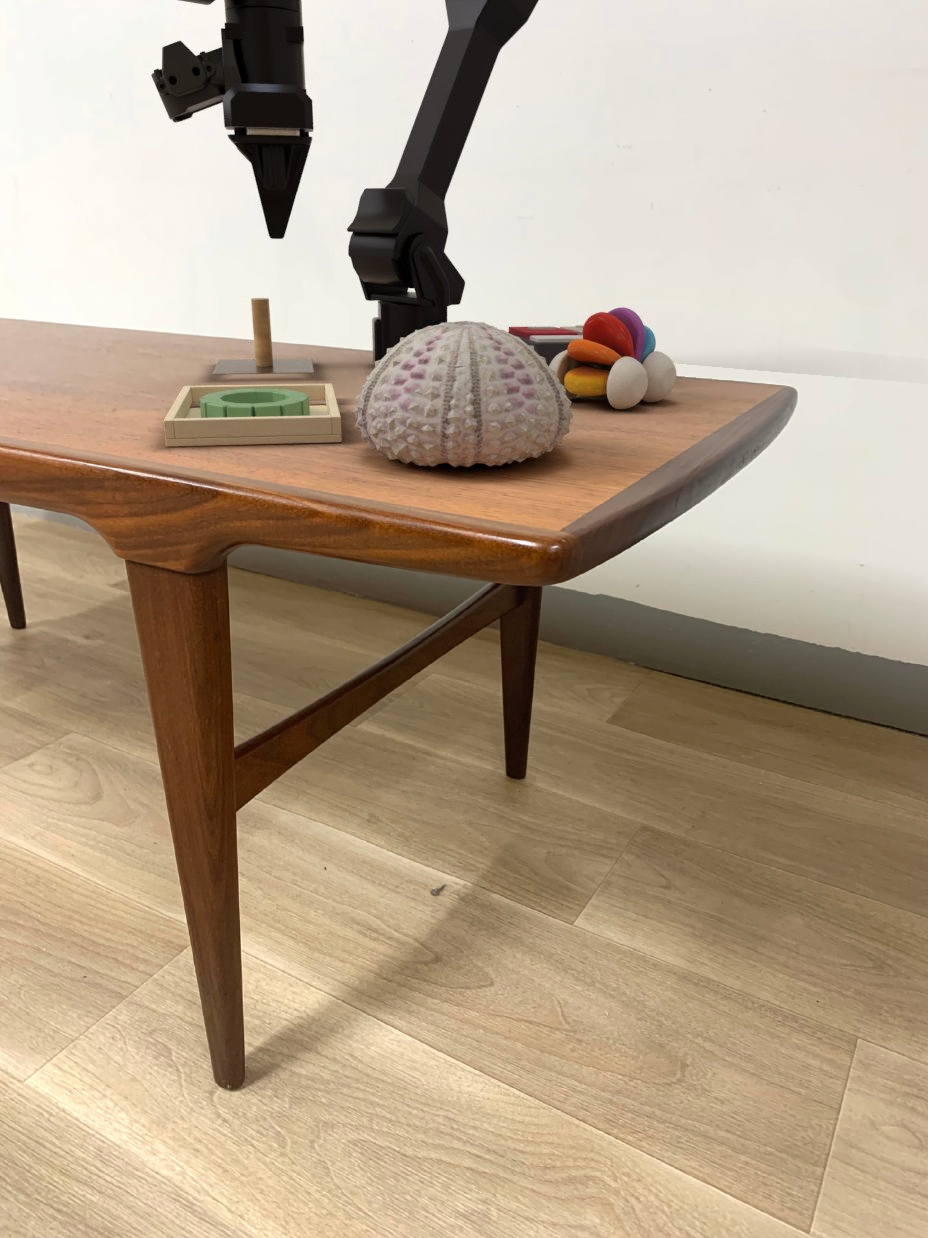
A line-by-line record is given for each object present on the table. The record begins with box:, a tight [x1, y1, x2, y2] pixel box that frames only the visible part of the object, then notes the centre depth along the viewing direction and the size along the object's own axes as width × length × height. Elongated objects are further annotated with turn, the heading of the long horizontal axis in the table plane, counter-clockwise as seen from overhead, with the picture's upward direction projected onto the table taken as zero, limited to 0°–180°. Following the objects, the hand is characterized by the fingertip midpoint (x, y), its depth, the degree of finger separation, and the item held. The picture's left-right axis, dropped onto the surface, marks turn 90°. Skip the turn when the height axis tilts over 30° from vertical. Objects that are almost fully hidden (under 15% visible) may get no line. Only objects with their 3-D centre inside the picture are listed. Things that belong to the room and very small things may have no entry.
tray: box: [162, 383, 343, 448], centre depth 68 cm, size 11×13×2 cm
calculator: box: [507, 324, 584, 366], centre depth 91 cm, size 11×4×15 cm
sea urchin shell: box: [352, 320, 574, 468], centre depth 58 cm, size 13×14×8 cm
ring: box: [199, 388, 311, 418], centre depth 67 cm, size 8×8×1 cm
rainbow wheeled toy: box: [549, 306, 678, 410], centre depth 76 cm, size 8×10×7 cm
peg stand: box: [211, 297, 315, 375], centre depth 88 cm, size 9×9×7 cm
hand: (277, 237), depth 78 cm, fingers open, 9 cm apart
